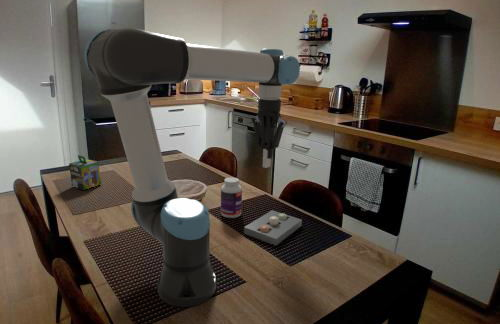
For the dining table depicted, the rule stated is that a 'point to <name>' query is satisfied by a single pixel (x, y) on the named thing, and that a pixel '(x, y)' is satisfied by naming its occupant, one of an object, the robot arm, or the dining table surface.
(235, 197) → the pill bottle
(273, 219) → the cream button
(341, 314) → the dining table surface
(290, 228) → the panel
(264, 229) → the terracotta button
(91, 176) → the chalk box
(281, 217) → the sage button
